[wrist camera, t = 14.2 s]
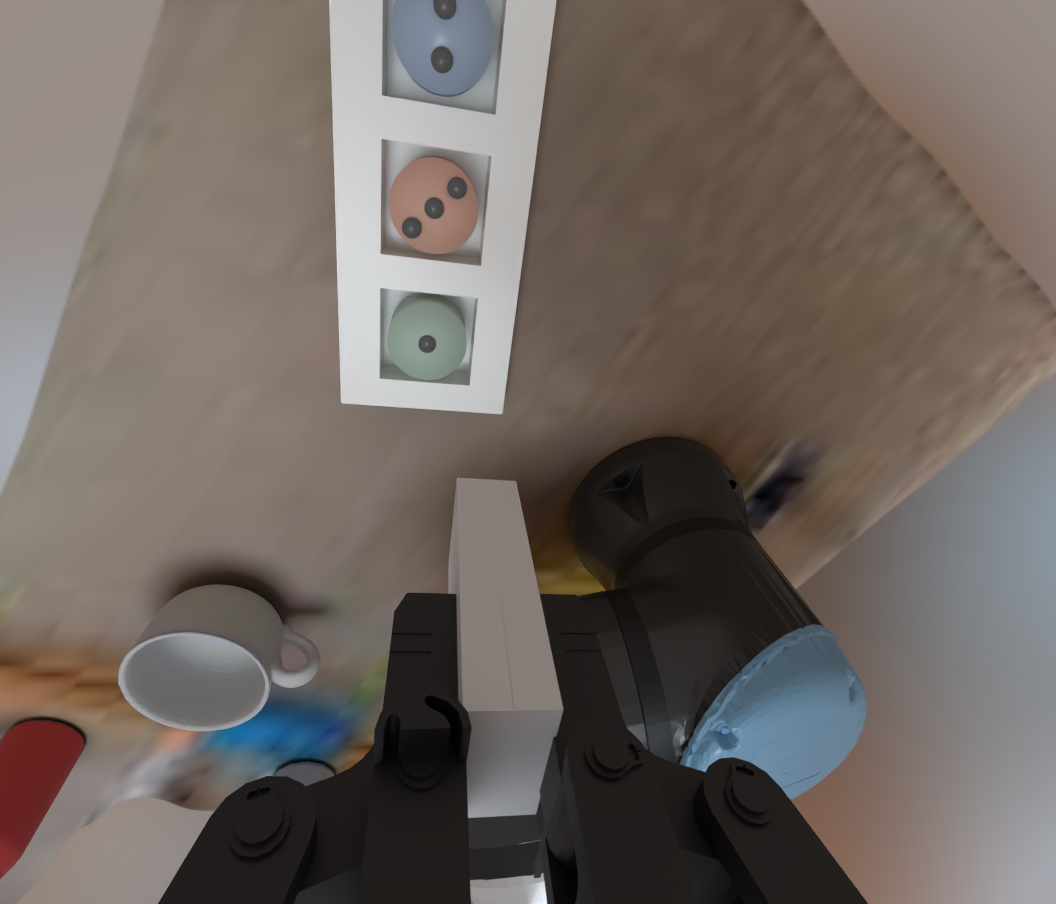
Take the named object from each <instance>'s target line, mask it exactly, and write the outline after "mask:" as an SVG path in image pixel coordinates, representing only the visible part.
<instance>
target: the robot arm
mask: <svg viewBox="0 0 1056 904" xmlns="http://www.w3.org/2000/svg"><path fill="white" fill-rule="evenodd" d="M569 528H570V533H571V537H572V540H573V543H574V546H575V549H576V552H577V555H578V557H579V559H580V560H581V562H582V564H583V565H584V567H585V568H586V569H587V570H588V571H589V572H590V573H591V574H592V575H593V576H594V577H595V578H596V579H597V580H598V581H599V582H600V584H601V585H602V586H603V587H604V588H605V589H606V590H607V591H604V592H596V593H591V594H586V595H581V596H576V595H561V594H539V589H538V584H537V580H536V575H535V570H534V565H533V560H532V556H531V551H530V546H529V541H528V536H527V531H526V527H525V522H524V517H523V512H522V507H521V503H520V498H519V493H518V488H517V483H516V481H507V480H490V479H473V478H457V482H456V492H455V502H454V512H453V523H452V533H451V543H450V553H449V563H448V594H439V593H407V594H406V595H405V597H404V598H403V600H402V601H401V603H400V604H399V606H398V607H397V608H396V610H395V611H394V620H393V628H392V637H391V645H390V655H389V662H388V670H387V679H386V687H385V696H384V704H383V711H382V712H381V713H380V716H379V719H378V722H377V725H376V728H375V736H374V745H373V746H372V748H371V749H370V751H369V752H368V753H367V754H366V755H365V756H364V757H363V759H362V760H360V761H359V762H358V763H356V764H355V765H354V766H352V767H351V768H350V769H348V770H345V771H343V772H341V773H339V774H337V775H335V776H332V777H329V778H327V779H324V780H321V781H318V782H316V783H313V784H310V785H307V786H304V784H303V783H301V782H298V781H296V780H294V779H292V778H289V777H287V776H266V777H263V778H261V779H258V780H255V781H252V782H249V783H246V784H245V785H243V786H242V787H240V788H239V789H238V790H236V791H235V792H233V793H232V794H230V795H229V796H228V797H226V798H225V800H224V801H223V802H222V803H221V804H220V806H219V807H218V808H217V809H216V811H215V812H214V813H213V814H212V815H211V817H210V818H209V820H208V822H207V823H206V825H205V827H204V828H203V830H202V832H201V833H200V835H199V837H198V838H197V840H196V842H195V843H194V845H193V847H192V848H191V850H190V852H189V853H188V855H187V857H186V858H185V860H184V862H183V863H182V865H181V867H180V868H179V870H178V872H177V873H176V875H175V877H174V878H173V880H172V882H171V883H170V885H169V887H168V888H167V890H166V892H165V893H164V895H163V897H162V898H161V900H160V902H159V903H158V904H471V900H472V901H473V903H474V904H868V903H867V902H866V900H865V899H864V898H863V896H862V895H861V894H860V892H859V891H858V890H857V888H856V887H855V886H854V885H853V883H852V882H851V880H850V879H849V878H848V877H847V875H846V874H845V873H844V871H843V870H842V868H841V867H840V866H839V864H838V863H837V862H836V860H835V859H834V858H833V856H832V855H831V854H830V852H829V851H828V850H827V848H826V847H825V846H824V844H823V843H822V842H821V840H820V839H819V838H818V836H817V835H816V834H815V832H814V831H813V830H812V828H811V827H810V826H809V824H808V823H807V822H806V820H805V819H804V818H803V816H802V815H801V814H800V812H799V811H798V810H797V808H796V807H795V806H794V804H793V803H792V802H791V800H792V799H793V798H795V797H797V796H799V795H801V794H802V793H804V792H805V791H807V790H808V789H810V788H811V787H813V786H814V785H815V784H817V783H819V782H820V781H821V780H822V779H823V778H825V777H826V776H827V775H828V774H829V773H830V772H832V771H833V770H834V769H835V768H836V767H837V766H838V765H839V764H840V763H841V762H842V761H843V760H844V759H845V758H846V756H847V755H848V754H849V753H850V751H851V750H852V748H853V747H854V746H855V744H856V742H857V741H858V739H859V737H860V735H861V733H862V731H863V728H864V726H865V722H866V717H867V709H868V707H867V696H866V693H865V689H864V686H863V684H862V682H861V680H860V678H859V677H858V675H857V674H856V672H855V671H854V669H853V667H852V666H851V664H850V663H849V661H848V660H847V658H846V656H845V655H844V653H843V652H842V650H841V649H840V647H839V646H838V644H837V642H836V638H835V636H834V635H833V633H832V632H831V631H830V630H829V629H828V628H826V627H825V626H824V625H823V624H822V623H821V622H820V621H819V619H818V618H817V617H816V615H815V614H814V613H813V612H812V610H811V609H810V608H809V606H808V605H807V604H806V603H805V601H804V600H803V599H802V597H801V596H800V595H799V594H798V592H797V591H796V590H795V589H794V587H793V586H792V585H791V583H790V582H789V581H788V580H787V578H786V577H785V576H784V574H783V573H782V572H781V571H780V569H779V568H778V567H777V565H776V564H775V563H774V562H773V560H772V559H771V558H770V556H769V555H768V554H767V553H766V551H765V550H764V549H763V547H762V546H761V545H760V544H759V542H758V541H757V540H756V538H755V537H754V536H753V534H752V531H751V527H750V523H749V519H748V514H747V510H746V506H745V502H744V498H743V494H742V490H741V487H740V485H739V483H738V481H737V479H736V477H735V476H734V474H733V473H732V472H731V470H730V469H729V468H728V467H727V466H726V464H725V463H724V462H723V461H722V460H721V458H720V457H719V456H718V455H717V454H715V453H714V452H713V451H712V450H710V449H709V448H707V447H705V446H703V445H701V444H699V443H696V442H693V441H689V440H685V439H678V438H659V439H652V440H647V441H642V442H639V443H636V444H633V445H630V446H628V447H626V448H623V449H621V450H619V451H617V452H616V453H614V454H612V455H611V456H609V457H608V458H606V459H605V460H603V461H602V462H601V463H600V464H599V465H597V466H596V467H595V468H594V469H593V470H592V471H591V472H590V473H589V474H588V476H587V477H586V478H585V479H584V481H583V482H582V483H581V485H580V487H579V488H578V490H577V492H576V494H575V496H574V499H573V501H572V504H571V508H570V514H569Z"/></svg>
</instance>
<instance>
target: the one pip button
mask: <svg viewBox="0 0 1056 904" xmlns="http://www.w3.org/2000/svg"><path fill="white" fill-rule="evenodd" d="M466 345H467V342H466V332H465V323H464V319H463V317H462V314H461V312H460V311H459V309H458V308H457V306H456V305H455V304H454V303H453V302H451V301H450V300H449V299H447V298H446V297H444V296H442V295H439V294H432V293H423V292H421V293H416V294H413V295H411V296H409V297H407V298H405V299H404V300H403V301H402V302H401V303H400V304H399V305H398V306H397V307H396V309H395V311H394V313H393V316H392V319H391V323H390V326H389V330H388V334H387V347H388V351H389V354H390V356H391V358H392V360H393V362H394V363H395V364H396V366H397V367H398V368H399V369H400V370H402V371H403V372H404V373H406V374H407V375H409V376H411V377H414V378H417V379H422V380H436V379H440V378H443V377H445V376H447V375H449V374H451V373H452V372H453V371H455V370H456V369H457V368H458V366H459V365H460V364H461V362H462V361H463V358H464V356H465V353H466Z"/></svg>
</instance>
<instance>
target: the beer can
mask: <svg viewBox="0 0 1056 904" xmlns="http://www.w3.org/2000/svg"><path fill="white" fill-rule="evenodd" d="M83 749H84V740H83V738H82V736H81V735H80V733H79V732H78V731H76V730H75V729H74V728H72V727H71V726H68V725H66V724H64V723H61V722H56V721H52V720H33V721H27V722H24V723H21V724H18V725H16V726H14V727H13V728H12V729H10V730H9V731H8V732H7V733H6V734H5V735H4V737H3V738H2V739H1V741H0V879H1V878H2V877H3V876H4V875H5V874H6V873H7V872H8V871H9V870H10V869H11V868H12V867H13V866H14V865H15V864H16V862H17V861H18V860H19V859H20V858H21V856H22V854H23V853H24V851H25V849H26V847H27V846H28V844H29V842H30V841H31V839H32V837H33V835H34V834H35V832H36V830H37V829H38V827H39V825H40V823H41V822H42V820H43V818H44V817H45V815H46V813H47V811H48V810H49V808H50V806H51V805H52V803H53V801H54V799H55V798H56V796H57V794H58V792H59V791H60V789H61V787H62V786H63V784H64V782H65V780H66V779H67V777H68V775H69V774H70V772H71V770H72V768H73V767H74V765H75V763H76V762H77V760H78V758H79V756H80V755H81V753H82V751H83Z"/></svg>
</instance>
